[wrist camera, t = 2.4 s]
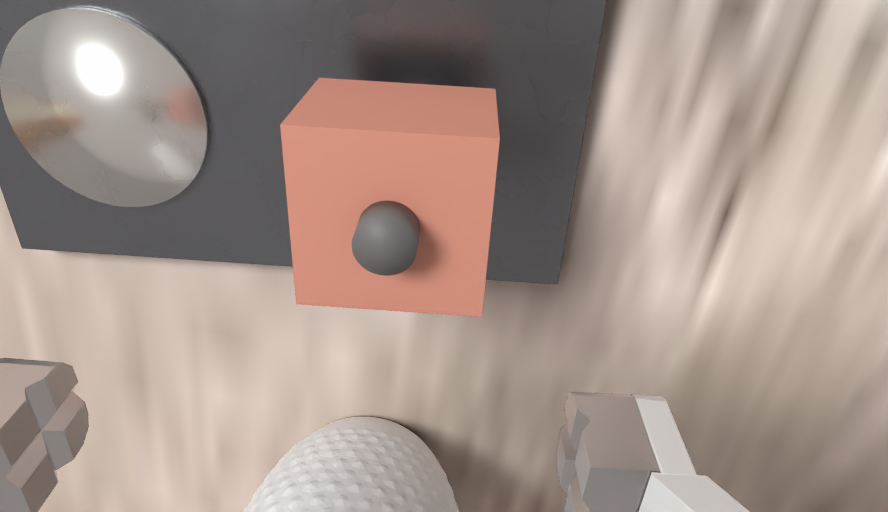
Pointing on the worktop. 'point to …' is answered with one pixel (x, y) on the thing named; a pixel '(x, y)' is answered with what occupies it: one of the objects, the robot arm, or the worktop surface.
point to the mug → (356, 472)
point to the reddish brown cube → (391, 195)
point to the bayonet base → (268, 115)
